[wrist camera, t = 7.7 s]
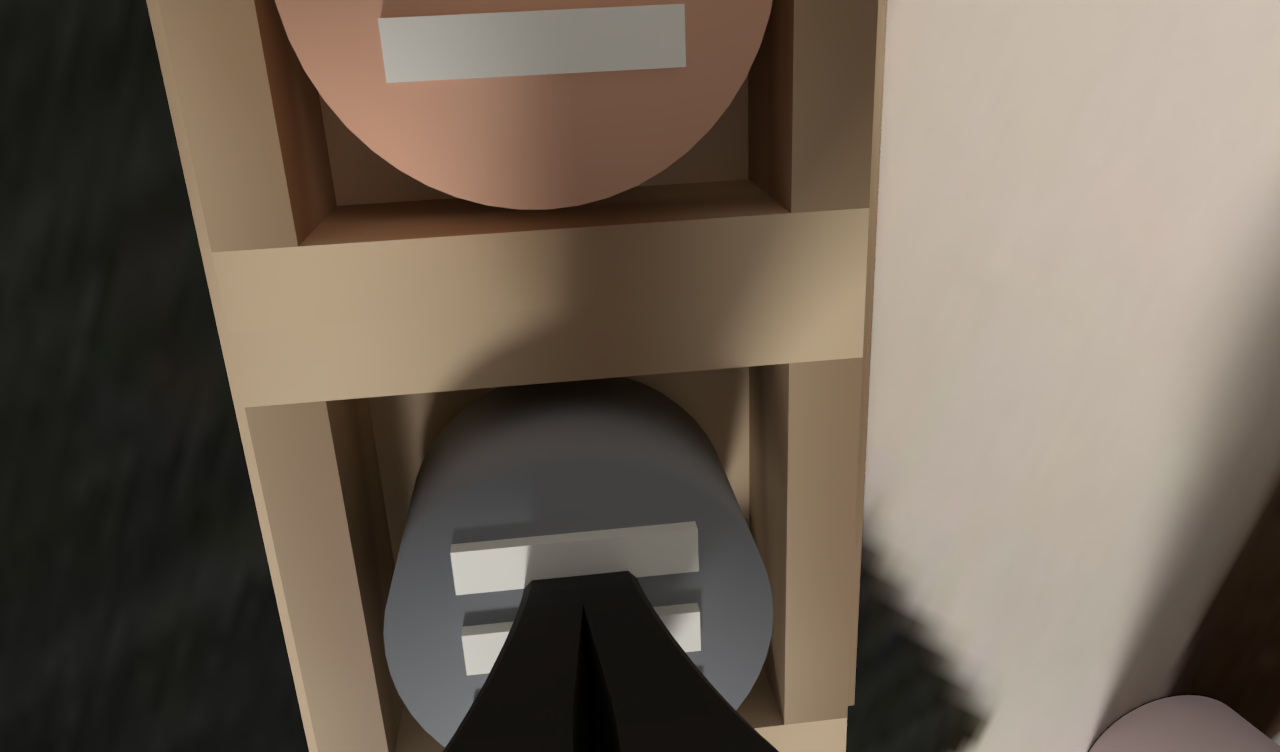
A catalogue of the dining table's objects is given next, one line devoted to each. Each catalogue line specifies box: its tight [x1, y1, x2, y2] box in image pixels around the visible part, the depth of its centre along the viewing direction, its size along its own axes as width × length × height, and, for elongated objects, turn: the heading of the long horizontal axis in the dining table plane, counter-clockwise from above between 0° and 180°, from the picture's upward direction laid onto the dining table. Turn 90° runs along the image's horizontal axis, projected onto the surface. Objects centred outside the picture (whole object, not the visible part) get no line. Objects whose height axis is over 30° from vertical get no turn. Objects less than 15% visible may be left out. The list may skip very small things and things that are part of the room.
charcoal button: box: [383, 377, 773, 747], centre depth 14 cm, size 5×5×3 cm
